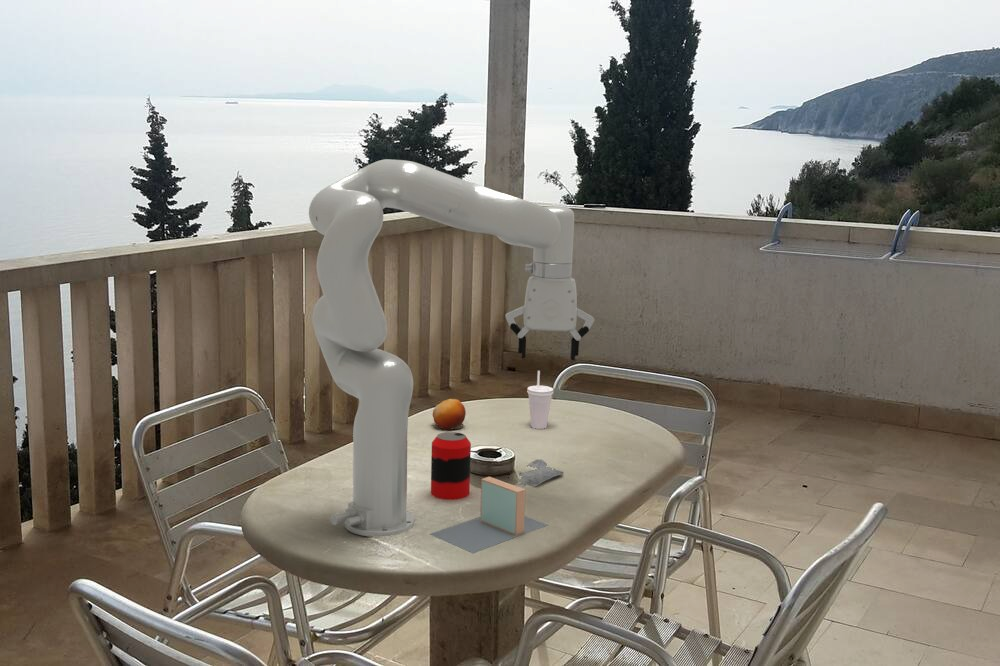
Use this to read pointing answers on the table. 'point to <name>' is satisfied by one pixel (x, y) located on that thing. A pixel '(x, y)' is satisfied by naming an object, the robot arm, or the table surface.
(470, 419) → the table surface
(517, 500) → the tile
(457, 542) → the mat
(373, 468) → the robot arm
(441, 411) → the fruit
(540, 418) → the smoothie
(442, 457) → the soda can
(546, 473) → the stone slab
